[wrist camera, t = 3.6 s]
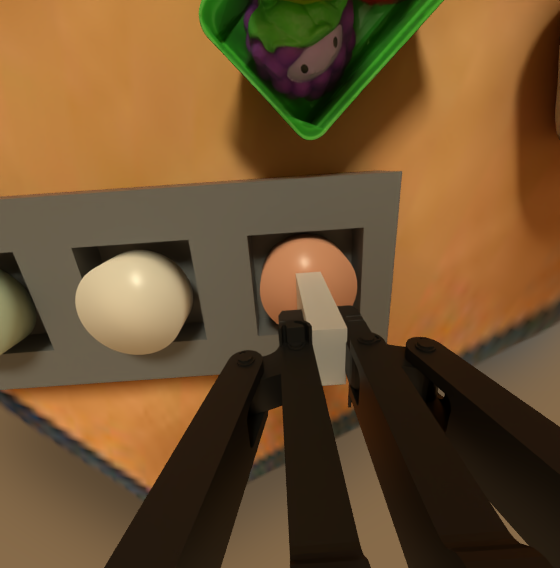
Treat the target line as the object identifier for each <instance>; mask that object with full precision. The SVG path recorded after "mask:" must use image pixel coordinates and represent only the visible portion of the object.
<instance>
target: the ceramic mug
mask: <svg viewBox="0 0 560 568" xmlns="http://www.w3.org/2000/svg"><path fill="white" fill-rule="evenodd" d="M555 124H556V132H557V135H558V137H559V139H560V47H559V63H558V85H557V97H556V108H555Z"/></svg>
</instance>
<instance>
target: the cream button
mask: <svg viewBox="0 0 560 568" xmlns="http://www.w3.org/2000/svg"><path fill="white" fill-rule="evenodd" d="M75 304H76V310H77V314H78V316H79V319H80V321H81V323H82V324H83V326H84V327H85V329H86V330H87V331H88V332H89V333H90V334H91V335H92V336H93V337H94V338H95V339H96V340H97V341H99V342H100V343H102V344H103V345H105V346H107V347H108V348H110V349H113V350H115V351H118V352H121V353H126V354H132V355H144V354H151V353H155V352H157V351H160V350H162V349H164V348H165V347H167V346H168V345H170V344H171V343H172V342H173V341H174V339H175V338H176V337H177V335H178V333H179V332H180V330H181V328H182V326H183V325H184V323H185V321H186V319H187V317H188V316H189V314H190V312H191V309H192V305H193V290H192V287H191V284H190V281H189V279H188V277H187V276H186V274H185V273H184V271H183V270H182V269H181V268H180V267H179V266H178V265H177V264H176V263H175V262H173V261H172V260H171V259H169V258H167V257H166V256H164V255H162V254H159V253H156V252H153V251H149V250H130V251H126V252H123V253H121V254H118V255H117V256H115V257H113V258H111V259H110V260H108V261H106V262H104V263H103V264H101V265H99V266H97V267H96V268H94V269H92V270H91V271H89V272H88V273H87V274H86V275H85V276H84V277H83V279H82V280H81V281H80V283H79V285H78V288H77V291H76V296H75Z"/></svg>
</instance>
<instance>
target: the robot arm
mask: <svg viewBox="0 0 560 568" xmlns="http://www.w3.org/2000/svg"><path fill="white" fill-rule="evenodd" d="M296 293H297V310H286V311H282V312H281V313H280V314H279V316H278V320H279V327H278V334H279V347H278V349H277V350H276V351H275V352H273V353H271V354H269V355H266V356H263V357H262V355H261V354H260V353H258V352H257V351H253V350H244V351H240V352H237V353H235V354H234V355H232V356H231V357H230V358H229V360H228V361H227V363H226V365H225V366H224V368H223V370H222V371H221V373H220V375H219V376H218V378H217V380H216V381H215V383H214V385H213V386H212V388H211V390H210V391H209V393H208V395H207V397H206V398H205V400H204V402H203V403H202V405H201V407H200V408H199V410H198V412H197V413H196V415H195V417H194V418H193V420H192V422H191V423H190V425H189V427H188V428H187V430H186V432H185V433H184V435H183V437H182V438H181V440H180V442H179V443H178V445H177V447H176V448H175V450H174V452H173V453H172V455H171V457H170V458H169V460H168V462H167V463H166V465H165V467H164V469H163V470H162V472H161V474H160V475H159V477H158V479H157V480H156V482H155V484H154V485H153V487H152V489H151V490H150V492H149V494H148V495H147V497H146V499H145V500H144V502H143V504H142V505H141V507H140V509H139V510H138V512H137V514H136V515H135V517H134V519H133V521H132V522H131V524H130V525H129V527H128V529H127V530H126V532H125V534H124V535H123V537H122V539H121V541H120V542H119V544H118V546H117V547H116V549H115V551H114V552H113V554H112V556H111V557H110V559H109V561H108V562H107V564H106V566H105V567H104V568H221V564H222V561H223V558H224V555H225V552H226V549H227V545H228V542H229V539H230V536H231V532H232V529H233V526H234V523H235V519H236V516H237V513H238V509H239V506H240V503H241V500H242V497H243V494H244V490H245V487H246V484H247V481H248V478H249V474H250V471H251V468H252V465H253V461H254V458H255V455H256V452H257V449H258V445H259V442H260V439H261V436H262V432H263V429H264V426H265V423H266V420H267V416H268V410H271V409H273V408H276V407H279V406H282V407H283V426H284V446H285V466H286V486H287V505H288V524H289V543H290V544H289V545H290V568H371V567H370V564H369V561H368V559H367V558H366V557H365V556H364V555H363V553H362V550H361V546H360V542H359V538H358V534H357V530H356V526H355V522H354V517H353V513H352V509H351V505H350V500H349V496H348V492H347V488H346V484H345V479H344V475H343V471H342V467H341V463H340V458H339V454H338V450H337V446H336V442H335V437H334V433H333V429H332V425H331V420H330V416H329V412H328V408H327V404H326V399H325V395H324V391H323V387H322V386H327V385H341V384H346V375H347V378H348V380H349V394H348V407H351V402H352V403H353V406H354V409H355V412H356V415H357V418H358V421H359V424H360V427H361V430H362V433H363V436H364V438H365V442H366V444H367V447H368V450H369V453H370V456H371V459H372V462H373V465H374V468H375V471H376V474H377V477H378V480H379V482H380V485H381V488H382V491H383V494H384V497H385V500H386V503H387V506H388V509H389V512H390V515H391V518H392V521H393V524H394V527H395V529H396V532H397V535H398V538H399V541H400V544H401V547H402V550H403V553H404V556H405V559H406V561H407V564H408V568H560V427H559V426H558V425H556V424H555V423H553V422H552V421H551V420H549V419H548V418H546V417H545V416H543V415H542V414H541V413H539V412H538V411H536V410H535V409H533V408H532V407H531V406H529V405H528V404H526V403H525V402H523V401H522V400H520V399H519V398H517V397H516V396H515V395H513V394H512V393H510V392H509V391H508V390H506V389H505V388H503V387H502V386H500V385H499V384H497V383H496V382H495V381H493V380H492V379H490V378H489V377H488V376H486V375H485V374H483V373H482V372H480V371H479V370H478V369H476V368H475V367H473V366H472V365H470V364H469V363H468V362H466V361H465V360H463V359H462V358H460V357H459V356H458V355H456V354H455V353H453V352H452V351H450V350H449V349H447V348H446V347H445V346H443V345H442V344H440V343H439V342H437V341H435V340H432V339H429V338H426V337H414V338H411V339H409V340H408V341H407V342H406V347H402V346H394V345H389V344H386V342H385V340H384V339H383V338H382V337H381V336H380V335H378V334H376V333H372V332H371V330H370V329H369V327H368V325H367V324H366V322H365V321H364V319H363V317H362V316H361V314H360V312H359V311H358V309H356V308H355V307H353V306H351V305H346V306H337V305H336V303H335V301H334V299H333V297H332V295H331V293H330V291H329V288H328V286H327V284H326V282H325V280H324V278H323V276H322V274H321V272H308V273H296ZM438 388H439V389H440V390H442V391H443V392H444V393H445V396H444V397H443V396H441V395H440V394H439V393H438ZM491 504H492V505H493V506H494V507H495V508H496V509H497V510H498V511H499V513H500V514H501V515H502V516H503V517H504V518H505V519H506V520H507V522H508V523H509V524H510V525H511V526H512V527H513V528H514V530H515V531H516V532H517V533H518V534H519V535H520V536H521V537H522V538H523V540H525V542H526V543H527V544H528V545H529V546H527V545H524V544H520V543H519V542H518V541H516V540H515V539H514V538H513V536H512V535H511V534H510V533H509V531H508V530H507V528H506V527H505V525H504V523H503V522H502V520H501V519H500V518H499V516H498V514H497V513H496V511H495V510H494V508H493V507H492V505H491Z"/></svg>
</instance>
